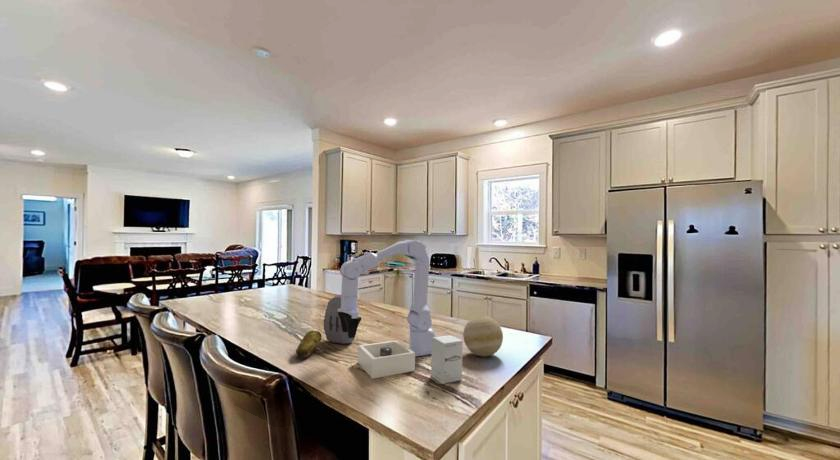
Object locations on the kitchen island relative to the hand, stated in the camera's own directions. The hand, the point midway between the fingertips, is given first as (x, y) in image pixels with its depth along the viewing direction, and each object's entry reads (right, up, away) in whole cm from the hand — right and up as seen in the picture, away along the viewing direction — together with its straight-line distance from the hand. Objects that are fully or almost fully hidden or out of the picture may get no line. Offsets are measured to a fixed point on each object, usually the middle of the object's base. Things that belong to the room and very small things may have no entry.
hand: (348, 334), depth 119 cm
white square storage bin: (+13, -10, -2) cm, 17 cm away
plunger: (+13, -9, -2) cm, 16 cm away
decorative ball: (+49, -12, +11) cm, 52 cm away
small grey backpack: (-9, -11, +22) cm, 26 cm away
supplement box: (+34, -11, -11) cm, 37 cm away
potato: (-17, -10, +8) cm, 21 cm away
